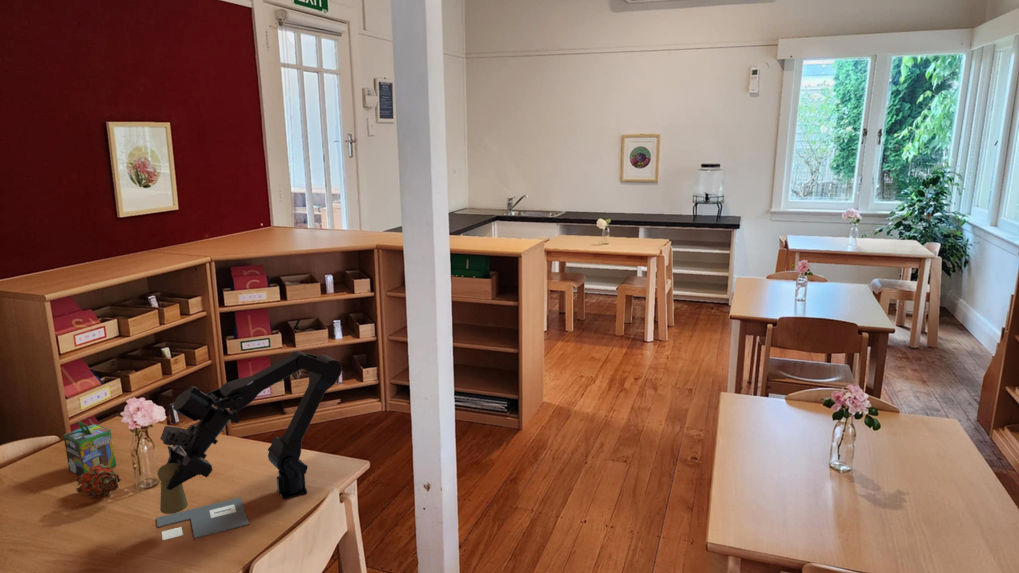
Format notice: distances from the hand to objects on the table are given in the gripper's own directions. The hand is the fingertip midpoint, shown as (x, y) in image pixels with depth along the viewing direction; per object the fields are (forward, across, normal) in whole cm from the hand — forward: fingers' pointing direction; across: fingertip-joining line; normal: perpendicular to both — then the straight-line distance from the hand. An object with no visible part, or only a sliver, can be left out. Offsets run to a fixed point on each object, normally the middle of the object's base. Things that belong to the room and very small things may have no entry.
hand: (164, 484), depth 161 cm
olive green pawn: (+4, 0, +6) cm, 7 cm away
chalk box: (+16, -49, +3) cm, 52 cm away
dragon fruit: (+16, -32, +2) cm, 36 cm away
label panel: (+4, 0, +15) cm, 15 cm away
